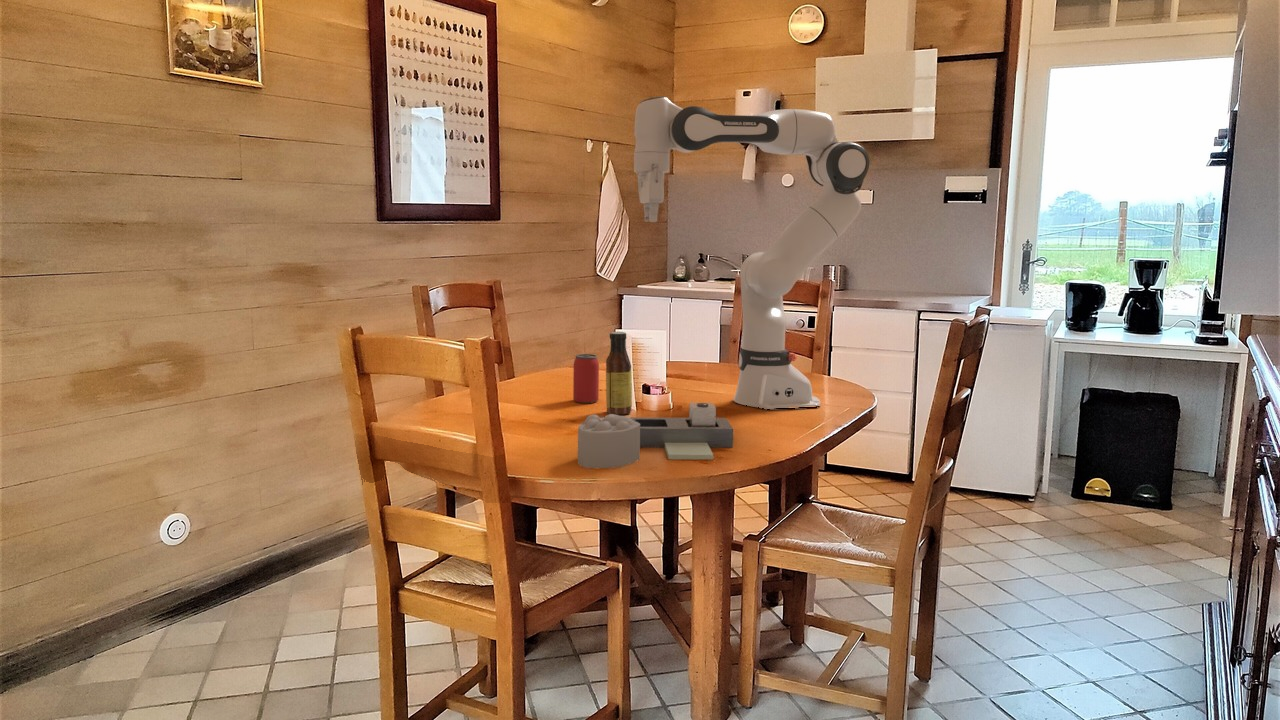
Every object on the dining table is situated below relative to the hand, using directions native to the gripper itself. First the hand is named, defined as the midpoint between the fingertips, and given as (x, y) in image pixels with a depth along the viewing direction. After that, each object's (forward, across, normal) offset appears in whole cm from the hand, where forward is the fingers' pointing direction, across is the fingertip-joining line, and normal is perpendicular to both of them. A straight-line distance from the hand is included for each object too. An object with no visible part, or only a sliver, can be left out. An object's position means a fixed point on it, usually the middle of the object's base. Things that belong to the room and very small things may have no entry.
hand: (650, 222), depth 214 cm
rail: (+46, -38, -1) cm, 60 cm away
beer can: (+46, +3, +16) cm, 49 cm away
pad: (+46, -47, -2) cm, 66 cm away
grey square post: (+46, -38, -7) cm, 60 cm away
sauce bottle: (+46, -11, +9) cm, 48 cm away
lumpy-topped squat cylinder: (+47, -51, +15) cm, 71 cm away
